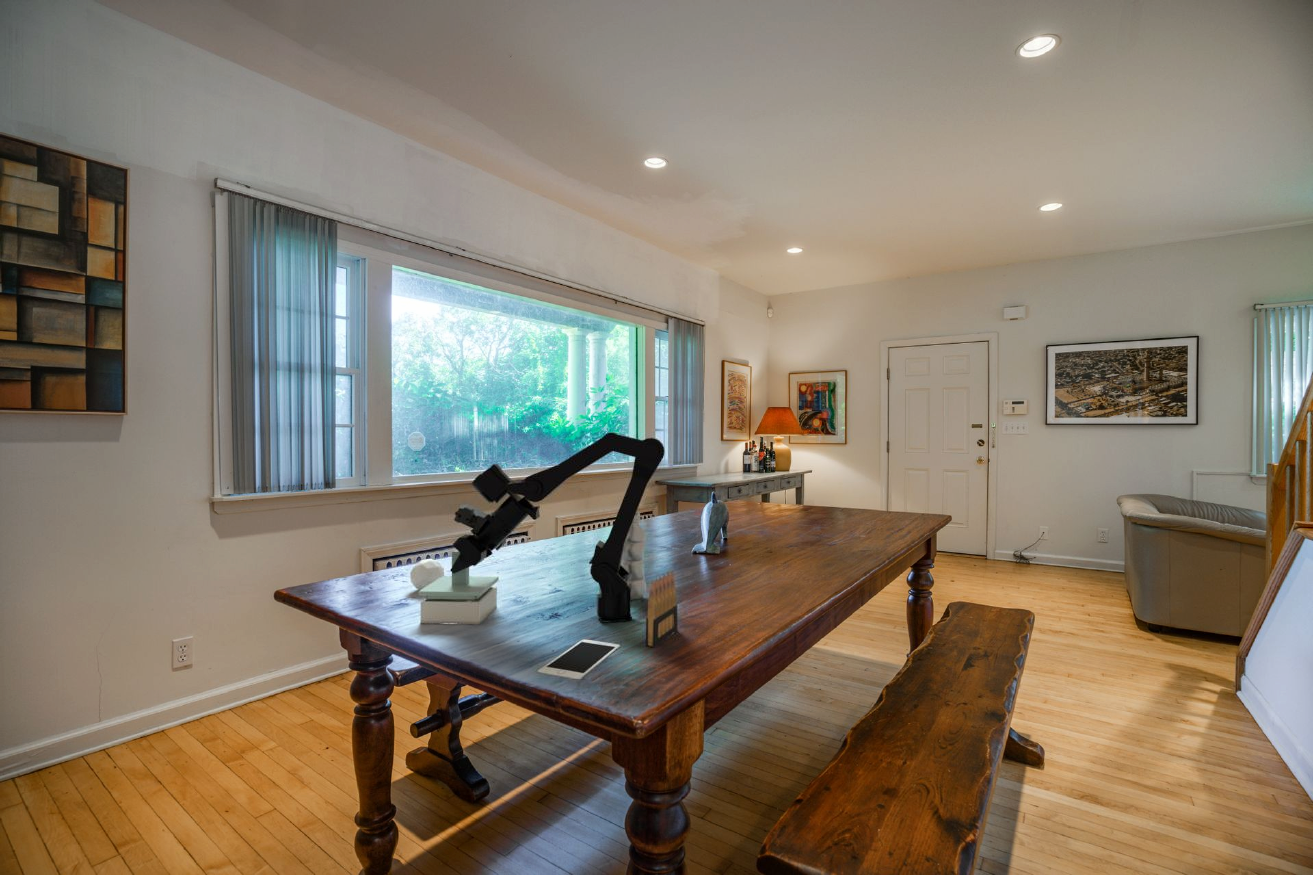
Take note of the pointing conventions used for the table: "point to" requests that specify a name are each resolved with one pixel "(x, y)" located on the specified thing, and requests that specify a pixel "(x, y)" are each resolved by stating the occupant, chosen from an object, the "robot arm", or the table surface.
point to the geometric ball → (426, 573)
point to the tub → (459, 609)
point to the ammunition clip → (661, 610)
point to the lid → (458, 585)
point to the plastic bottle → (635, 558)
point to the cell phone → (579, 659)
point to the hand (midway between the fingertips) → (454, 570)
